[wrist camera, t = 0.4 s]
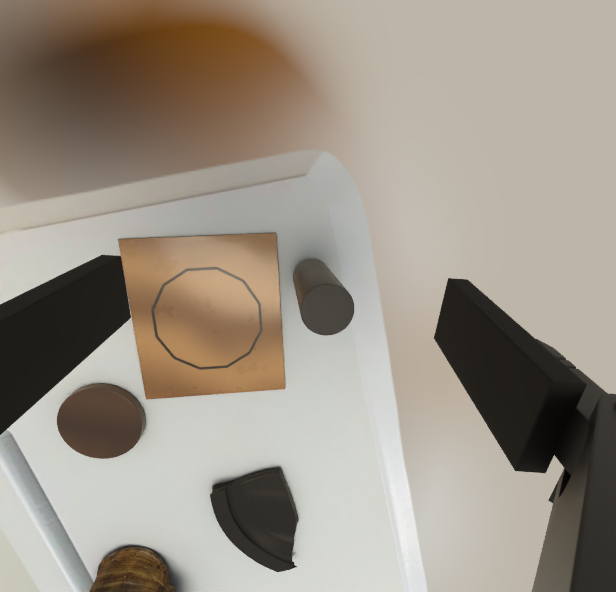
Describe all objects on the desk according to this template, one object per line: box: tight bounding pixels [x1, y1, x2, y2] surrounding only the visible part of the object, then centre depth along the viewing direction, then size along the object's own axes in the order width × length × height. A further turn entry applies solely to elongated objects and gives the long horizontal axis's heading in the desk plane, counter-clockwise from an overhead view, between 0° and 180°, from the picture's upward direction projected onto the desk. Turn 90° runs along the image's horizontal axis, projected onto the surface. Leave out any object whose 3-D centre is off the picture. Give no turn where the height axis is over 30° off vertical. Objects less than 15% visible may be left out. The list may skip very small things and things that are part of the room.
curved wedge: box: [210, 468, 299, 572], centre depth 39 cm, size 8×14×2 cm, turn 13°
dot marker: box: [293, 258, 354, 335], centre depth 27 cm, size 3×3×12 cm
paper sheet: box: [118, 233, 285, 399], centre depth 33 cm, size 16×14×1 cm
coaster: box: [57, 384, 145, 459], centre depth 34 cm, size 8×8×1 cm
